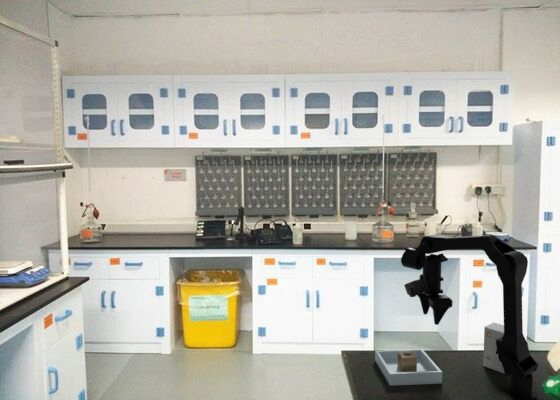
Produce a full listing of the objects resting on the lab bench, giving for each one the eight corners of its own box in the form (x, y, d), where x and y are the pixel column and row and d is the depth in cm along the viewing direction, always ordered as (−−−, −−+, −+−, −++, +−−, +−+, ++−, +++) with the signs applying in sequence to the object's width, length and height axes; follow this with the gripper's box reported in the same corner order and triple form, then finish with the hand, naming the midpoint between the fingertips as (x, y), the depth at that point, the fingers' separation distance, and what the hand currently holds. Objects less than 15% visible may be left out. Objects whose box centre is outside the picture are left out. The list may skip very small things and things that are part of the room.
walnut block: (416, 372, 135) (417, 357, 134) (402, 373, 135) (402, 357, 134) (411, 365, 139) (411, 350, 139) (397, 366, 139) (397, 351, 139)
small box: (517, 369, 138) (519, 329, 136) (508, 375, 134) (510, 334, 132) (491, 360, 144) (493, 321, 143) (482, 366, 140) (483, 326, 139)
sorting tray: (441, 383, 130) (442, 372, 129) (389, 385, 129) (389, 374, 129) (421, 359, 145) (422, 348, 145) (375, 360, 144) (375, 350, 144)
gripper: (398, 266, 153) (397, 310, 154) (418, 281, 134) (417, 331, 136) (429, 265, 153) (428, 309, 155) (453, 280, 135) (452, 330, 136)
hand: (430, 319), depth 145 cm, fingers open, 9 cm apart
